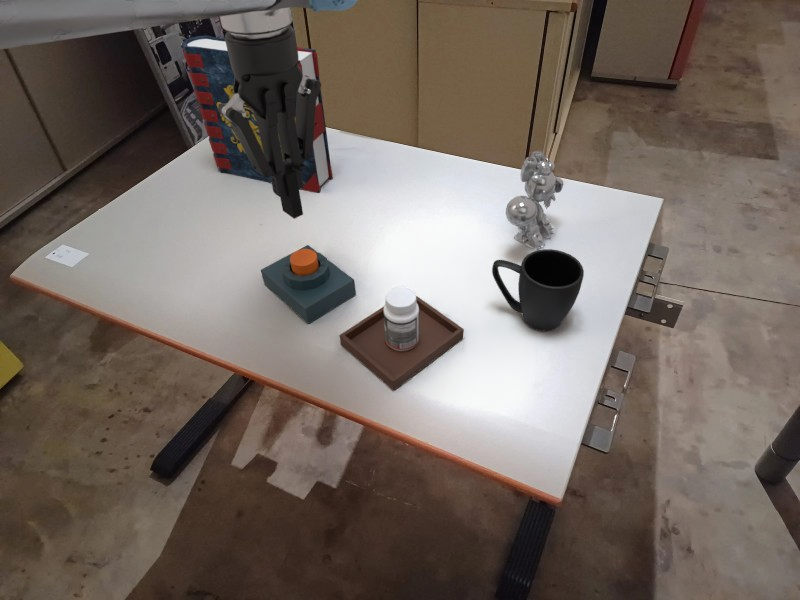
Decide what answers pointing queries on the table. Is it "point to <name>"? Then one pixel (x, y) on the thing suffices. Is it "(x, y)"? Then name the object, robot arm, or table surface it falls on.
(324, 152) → the book
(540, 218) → the robot toy
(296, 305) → the console
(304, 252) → the console button
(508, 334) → the table surface
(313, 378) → the table surface
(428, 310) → the tray
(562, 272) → the mug
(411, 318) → the pill bottle
